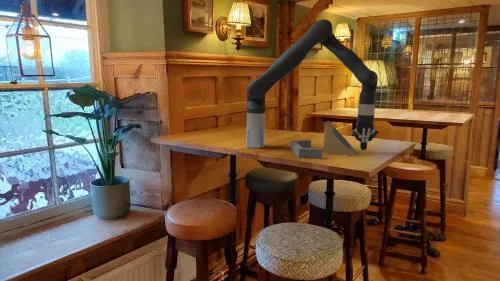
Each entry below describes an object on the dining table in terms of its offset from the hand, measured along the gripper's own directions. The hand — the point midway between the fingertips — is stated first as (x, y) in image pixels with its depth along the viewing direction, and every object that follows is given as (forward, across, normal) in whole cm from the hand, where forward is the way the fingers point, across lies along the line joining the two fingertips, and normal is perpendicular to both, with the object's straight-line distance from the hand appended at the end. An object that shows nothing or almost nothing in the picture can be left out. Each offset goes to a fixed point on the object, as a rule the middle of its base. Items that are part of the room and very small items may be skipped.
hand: (363, 149), depth 172 cm
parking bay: (+1, +28, 0) cm, 28 cm away
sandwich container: (+2, +11, +2) cm, 12 cm away
